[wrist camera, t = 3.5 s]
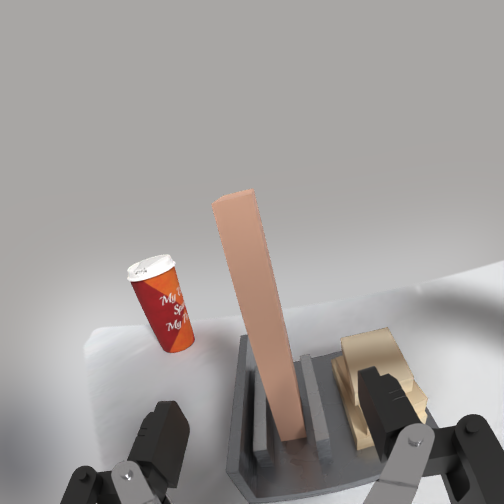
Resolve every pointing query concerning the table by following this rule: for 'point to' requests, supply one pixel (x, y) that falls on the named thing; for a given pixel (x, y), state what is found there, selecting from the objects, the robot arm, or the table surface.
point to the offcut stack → (386, 361)
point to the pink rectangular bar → (260, 307)
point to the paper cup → (162, 301)
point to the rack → (298, 450)
